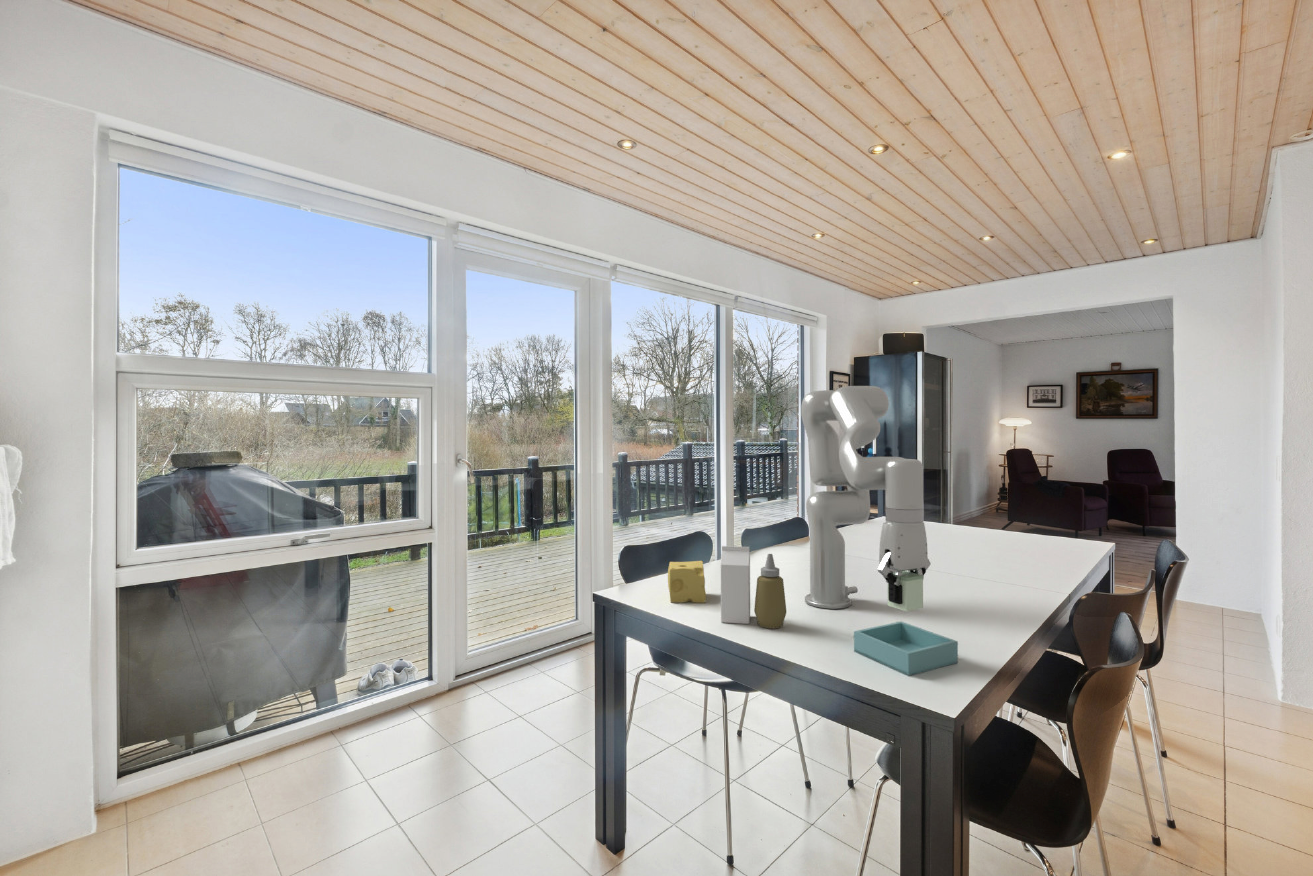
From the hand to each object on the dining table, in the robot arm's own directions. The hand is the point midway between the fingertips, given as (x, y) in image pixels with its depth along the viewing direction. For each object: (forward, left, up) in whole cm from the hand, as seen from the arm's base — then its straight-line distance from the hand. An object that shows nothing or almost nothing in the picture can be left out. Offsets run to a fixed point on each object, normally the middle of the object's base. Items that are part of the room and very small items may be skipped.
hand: (904, 600), depth 127 cm
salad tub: (0, 0, -2) cm, 2 cm away
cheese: (+20, -61, -13) cm, 66 cm away
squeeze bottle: (+13, -30, -13) cm, 35 cm away
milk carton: (+18, -38, -13) cm, 44 cm away
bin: (0, 0, -12) cm, 12 cm away
